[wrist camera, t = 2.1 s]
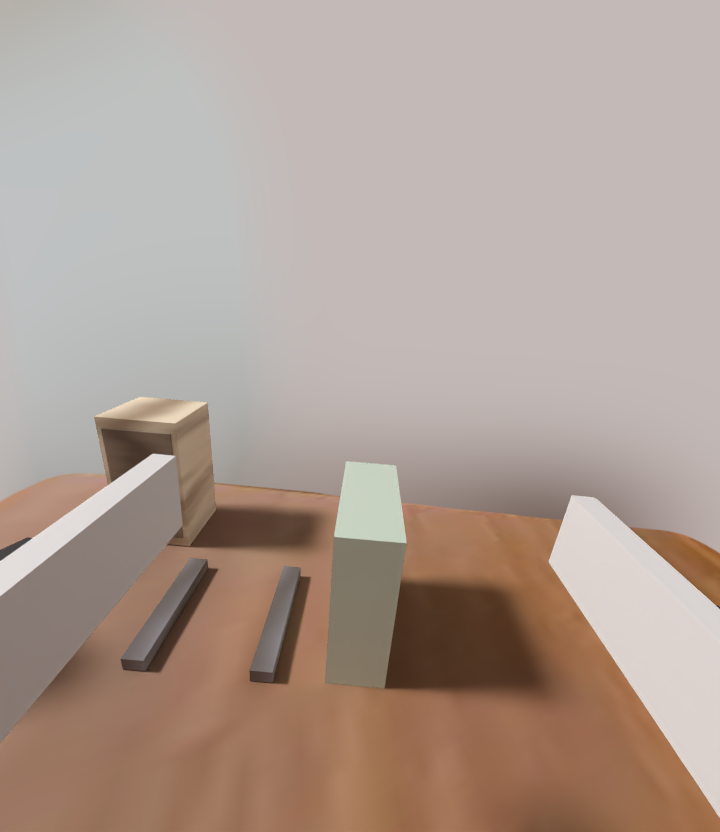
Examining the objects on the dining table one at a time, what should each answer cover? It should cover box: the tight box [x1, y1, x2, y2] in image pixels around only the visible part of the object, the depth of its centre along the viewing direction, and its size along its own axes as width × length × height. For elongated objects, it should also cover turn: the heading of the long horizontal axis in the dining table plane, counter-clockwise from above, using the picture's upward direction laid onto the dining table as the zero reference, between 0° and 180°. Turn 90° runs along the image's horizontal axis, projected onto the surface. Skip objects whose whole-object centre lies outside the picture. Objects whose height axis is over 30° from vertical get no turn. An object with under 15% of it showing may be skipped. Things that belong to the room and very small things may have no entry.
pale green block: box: [325, 461, 407, 688], centre depth 25 cm, size 4×9×12 cm, turn 178°
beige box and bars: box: [94, 397, 300, 683], centre depth 28 cm, size 18×18×13 cm
